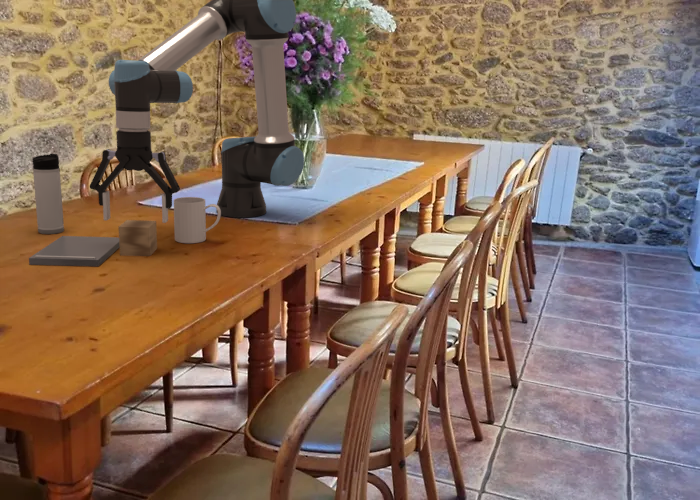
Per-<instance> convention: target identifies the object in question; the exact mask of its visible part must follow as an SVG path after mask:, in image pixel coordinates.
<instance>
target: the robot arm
mask: <svg viewBox="0 0 700 500" xmlns="http://www.w3.org/2000/svg"><path fill="white" fill-rule="evenodd" d="M296 21H297V9H296V6H295V2H294V0H210V1H208V2H207V3H206V4H204V5H203V6H201V7H200V8H199V9H198V13H197V15H196V16H195V17H193V18H192V19H191V20H189V21H188V22H187V23H185V24H184V25H183V26H182V27H180V28H179V29H178V30H176V31H175V32H173V33H172V34H171V35H170V36H169V37H167V38H165V40H162V41H161V42H160V43H159V44H158V45H156V46H155V47H154V48H153V49H151V50H150V51H148V52H146V54H145V55H143V56H142V57H140V58H139V59H138V60H134V59H133V60H131V59H118V60H116V61H115V63H114V69H113V70H112V71H111V73H109V74H110V75H109V77H108V86H109V90H110V91H111V93H112V95H114V100H115V101H114V102H115V127H116V128H117V131H116V134H115V135H116V150H111V148H106V149H103V151H102V158H101V161H100V162H99V166H98V168H97V170H96V172H95V174H94V176H93V177H92V180H91V182H90V184H89V189H90V190H95V191H96V192H97V193H98V194H97V195H98V205H99V206H100V207H101V206H102V212H103V213H102V214H103V221H108V220H110V219H111V200H110V191H109V190H107V189H108V187H109V186H110V185H112V183H113V182H114V181H115V179H116V178H117V177H119V175H120V174H121V172H123V171H124V170H126V171H136V172H142V171H144V172H145V173H147V174H148V176H150V178H151V179H152V180H153V181H154V182H155V184H156V185H157V186H158V187H159V188H160V190H161V191H162V192H163V194H162V195H161V214H162V215H161V216H162V219H161V221H162V224H166V223H167V222H169V209H171V208H172V207H173V194H177V193H178V192H179V191H181V187H180V185H179V183H178V181H177V179H176V177H175V175H174V173H173V172H172V170H171V167H170V165H169V164H168V162H167V157H166V152H165V151H160V152H153V151H152V140H151V139H152V133H151V130H150V131H149V129H151V104H176V105H177V104H179V103H180V104H183V103H186V102H188V101H189V100H190V99H191V97H192V95H193V93H194V91H193V90H194V87H193V86H194V84H193V83H194V82H193V81H192V78H191V76H190V75H189V74H188V73H187V72H184V71H179V68H181V67H182V66H183V65H184V64H185V65H186V64H187V62H189V61H190V60H191V59H193V58H194V57H195V56H196V55H197V54H199V53H200V52H202V51H203V50H204V49H205V48H206V47H208V46H209V45H210V44H211V43H213V42H215V40H219V41H220V40H223V39H224V38H226V37H228V35H231V34H236V33H244V38H245V41H246V43H247V44H249V45H250V46H251V51H252V53H251V54H252V65H253V77H254V78H253V79H254V89H255V90H254V91H255V102H256V103H255V104H256V112H257V113H256V116H257V117H256V118H257V128H258V130H257V131H258V133H257V135H256V136H242V137H241V136H240V137H231V138H230V137H229V138H225V139H224V140H223V141H222V142H221V151H220V154H221V158H220V159H221V190H220V193H219V196H218V199H217V203H216V205H218V206H219V208H220V210H221V216H223V217H229V218H230V217H231V218H256V217H260V216H264V215H266V214H267V203H266V201H265V197H264V195H263V191H262V188H261V186H262V185H261V183H263V184H268V185H273V186H275V187H276V186H277V187H279V186H281V187H288V186H291V185H293V184H295V182H297V181H298V180H299V177H300V176H301V175H302V173H303V170H304V167H305V156H304V152H303V151H302V149H301V148H300V147H298V146H296V143H295V142H296V141H295V137H294V135H293V134H291V133H290V131H289V130H290V129H289V114H288V99H287V97H288V96H287V84H286V83H287V81H286V69H285V51H284V45H285V44H286V42H287V41H288V40H289V32H290V31H292V29H294V27H295V24H296ZM114 158H115V159H117V161H118V164H117V165H116V166H115V168H114V169H113V170H112V171H111V172H110V174H109V175H108V176H107V177H106V178H105V180H104V181H103V182H102V183H101V181H102V179H103V177H104V174H105V173H106V170H107V169H108V166H109V163H110V162H111V161H112V160H113V159H114ZM153 159H155V161H156V162H157V163H158V164H159V166H160V168H161V171H162V172H163V174H164V176H165V179H166V180H167V182H166V181H165V180H164V178H163V177H162V176H161V175H160V174H159V172H158V171H157V170H156V169H155V167H154V166H153V165H152V163H150V162H152V161H153ZM215 209H216V208H215ZM265 213H266V214H265ZM216 214H218V211H217V209H216Z"/></svg>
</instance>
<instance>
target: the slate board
mask: <svg viewBox="0 0 700 500" xmlns="http://www.w3.org/2000/svg"><path fill="white" fill-rule="evenodd" d="M119 249H120V246H119V236H118V237H116V236H114V237H112V236H111V237H109V236H82V235H81V236H78V235H76V236H75V235H74V236H73V235H62V236H60V237H59V238H57V239H55V240H54V241H53V242H51V243H49V244H47V245H46V246H45V247H43V248H42V249H40V250H39V251H37V252H36V253H34V254H33V255H31V256H29V257H28V264H29V265H31V266H34V265H35V266H62V267H63V266H64V267H65V266H66V267H100V265H102V264H103V263H104V262H105V261H106V260H107V259H109V257H111V256H112V255H113V254H114V253H115V252H116V251H118V250H119Z"/></svg>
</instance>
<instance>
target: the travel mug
mask: <svg viewBox="0 0 700 500" xmlns="http://www.w3.org/2000/svg"><path fill="white" fill-rule="evenodd" d="M32 165H33V166H32V171H33V173H32V174H33V186H34V197H35V208H36V209H35V210H36V223H37V231H38V233H39V234H42V235H54V234H60V233H63V232H64V231H65V226H64V209H63V198H62V197H63V195H62V194H63V193H62V182H61V181H62V180H61V171H60V159H59V155H58V153H50V154H42V155H41V154H40V155H36V156H33V158H32Z"/></svg>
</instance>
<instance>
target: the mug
mask: <svg viewBox="0 0 700 500" xmlns="http://www.w3.org/2000/svg"><path fill="white" fill-rule="evenodd" d="M211 207H213V208H215V209H217V211H218V213H217V215H216V216H217V217H216V219H215V221H214V223H213V224H211V225H210V226H208V227H207V225H206V223H207V221H206V218H207V217H206V210H208V209H209V208H211ZM221 216H222V215H221V210H220V208H219V206H218V205H217V203H216V204H215V203H210V204H207V205H206V199H205V198H203V197H198V196H197V197H196V196H183V197H177V198H174V199H173V227H174V229H173V231H174V241H176V242H178V243H182V244H198V243H199V244H200V243H203V242H205V241H206V238H207V232H208V231H209V230H212V229H213V228H214V227H216V225H218V223H219V222H220V220H221Z"/></svg>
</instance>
